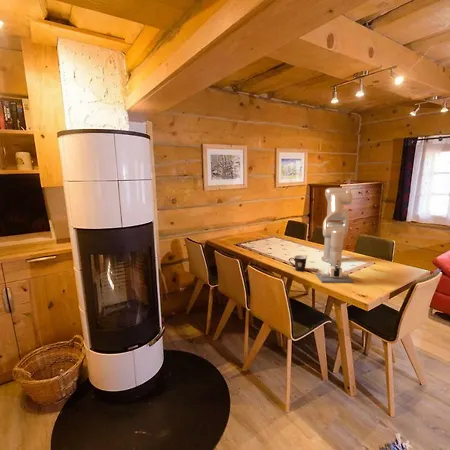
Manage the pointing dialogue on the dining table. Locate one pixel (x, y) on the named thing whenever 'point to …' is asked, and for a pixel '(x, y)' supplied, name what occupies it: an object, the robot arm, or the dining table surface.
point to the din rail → (333, 277)
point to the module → (331, 271)
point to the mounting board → (335, 280)
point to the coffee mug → (299, 262)
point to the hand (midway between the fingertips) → (334, 274)
